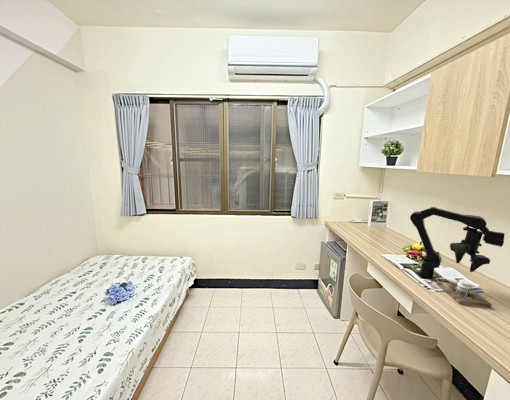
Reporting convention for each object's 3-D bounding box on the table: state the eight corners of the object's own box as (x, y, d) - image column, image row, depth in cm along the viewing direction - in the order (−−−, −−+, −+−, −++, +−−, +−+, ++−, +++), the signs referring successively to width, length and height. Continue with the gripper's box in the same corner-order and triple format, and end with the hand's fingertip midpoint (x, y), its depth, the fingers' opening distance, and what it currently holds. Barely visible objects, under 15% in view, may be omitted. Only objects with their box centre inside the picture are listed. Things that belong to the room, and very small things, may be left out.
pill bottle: (460, 293, 115) (465, 279, 113) (469, 299, 110) (474, 284, 109) (451, 292, 115) (456, 278, 113) (460, 298, 110) (464, 284, 108)
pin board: (436, 284, 122) (437, 280, 121) (463, 287, 120) (465, 284, 120) (458, 303, 106) (459, 299, 106) (490, 307, 105) (491, 303, 104)
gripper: (443, 232, 124) (436, 257, 128) (469, 246, 106) (461, 274, 110) (464, 234, 123) (457, 259, 127) (495, 248, 105) (485, 277, 108)
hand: (464, 267), depth 118 cm, fingers open, 9 cm apart
